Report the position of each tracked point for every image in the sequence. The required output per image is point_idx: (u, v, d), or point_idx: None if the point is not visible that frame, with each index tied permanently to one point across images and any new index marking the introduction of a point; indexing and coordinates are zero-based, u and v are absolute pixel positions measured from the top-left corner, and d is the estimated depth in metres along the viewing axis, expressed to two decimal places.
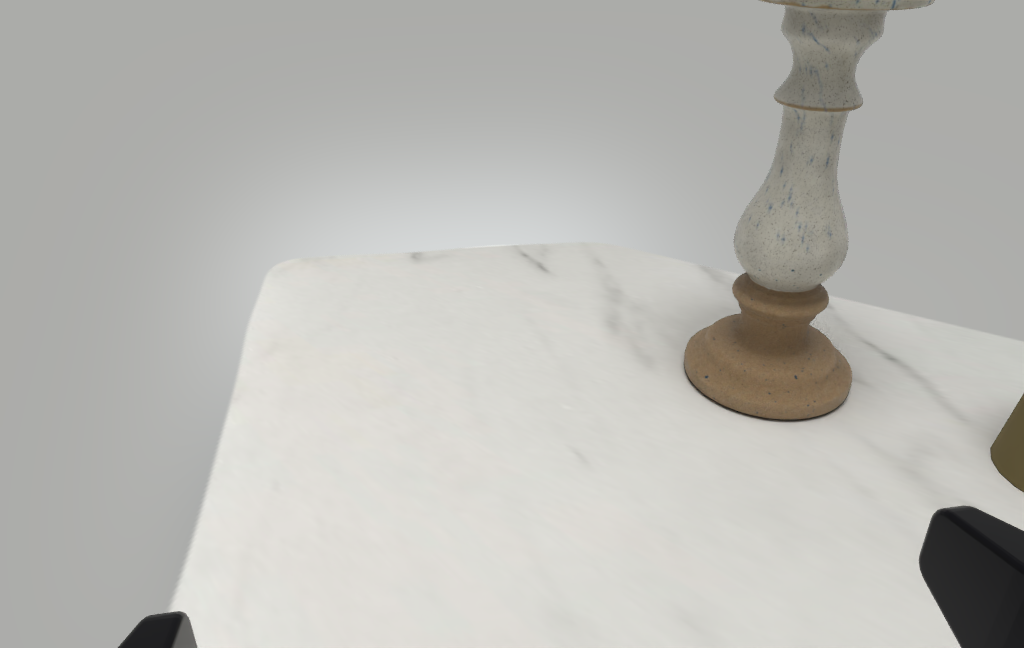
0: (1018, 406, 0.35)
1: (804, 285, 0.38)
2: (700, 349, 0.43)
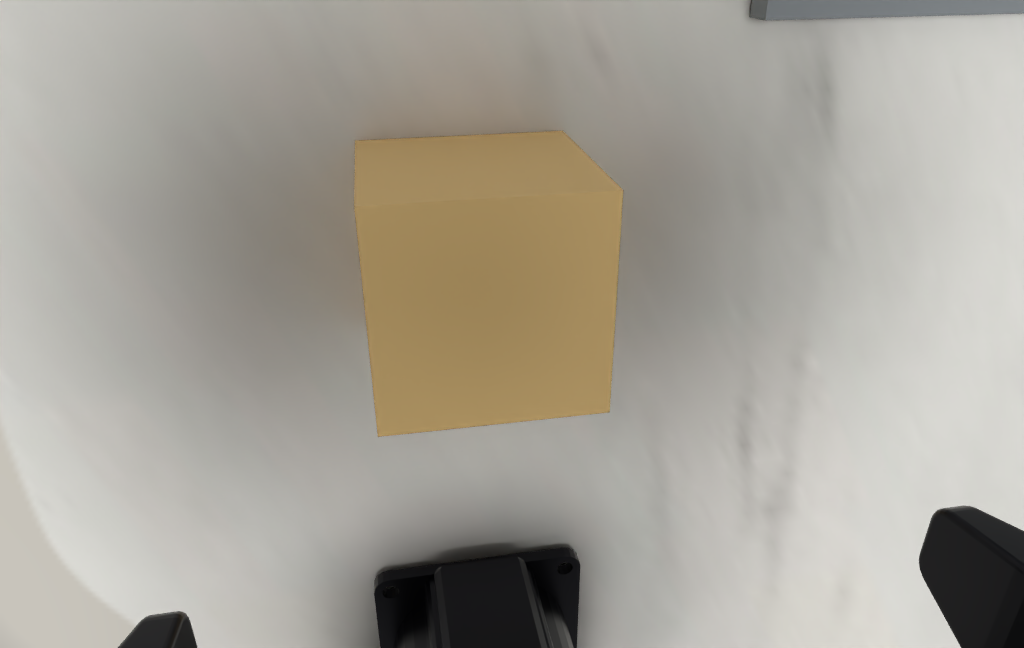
0: None
1: None
2: None
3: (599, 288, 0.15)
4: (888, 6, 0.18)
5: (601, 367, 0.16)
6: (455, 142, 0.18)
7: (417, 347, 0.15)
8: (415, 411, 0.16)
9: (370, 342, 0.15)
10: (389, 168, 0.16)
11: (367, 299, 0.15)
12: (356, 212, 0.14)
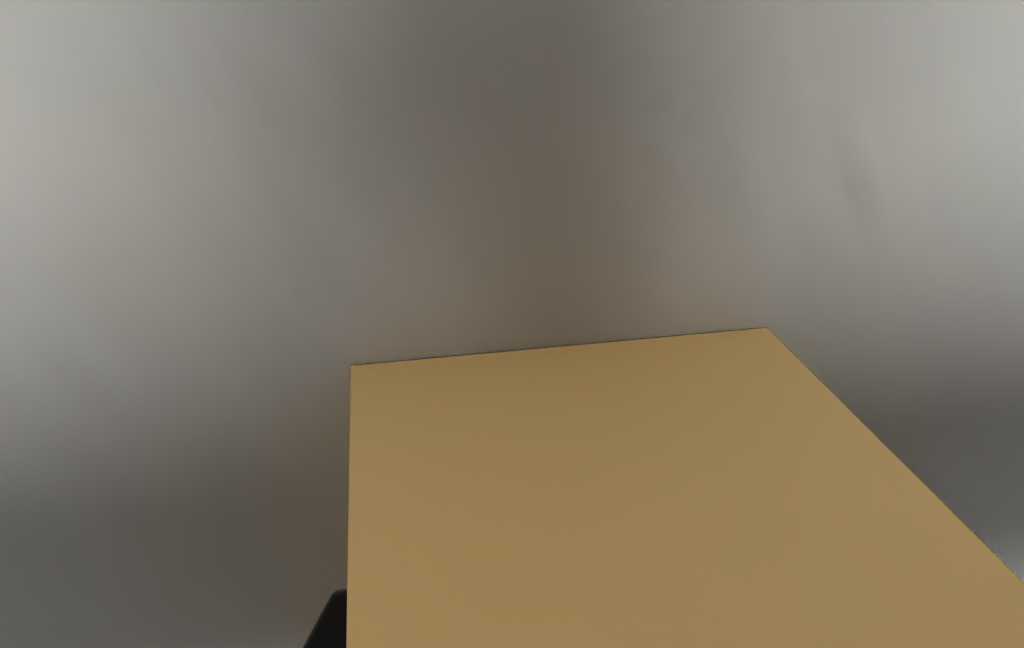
0: None
1: None
2: None
3: None
4: None
5: None
6: (565, 380, 0.08)
7: None
8: None
9: None
10: (434, 517, 0.06)
11: None
12: None
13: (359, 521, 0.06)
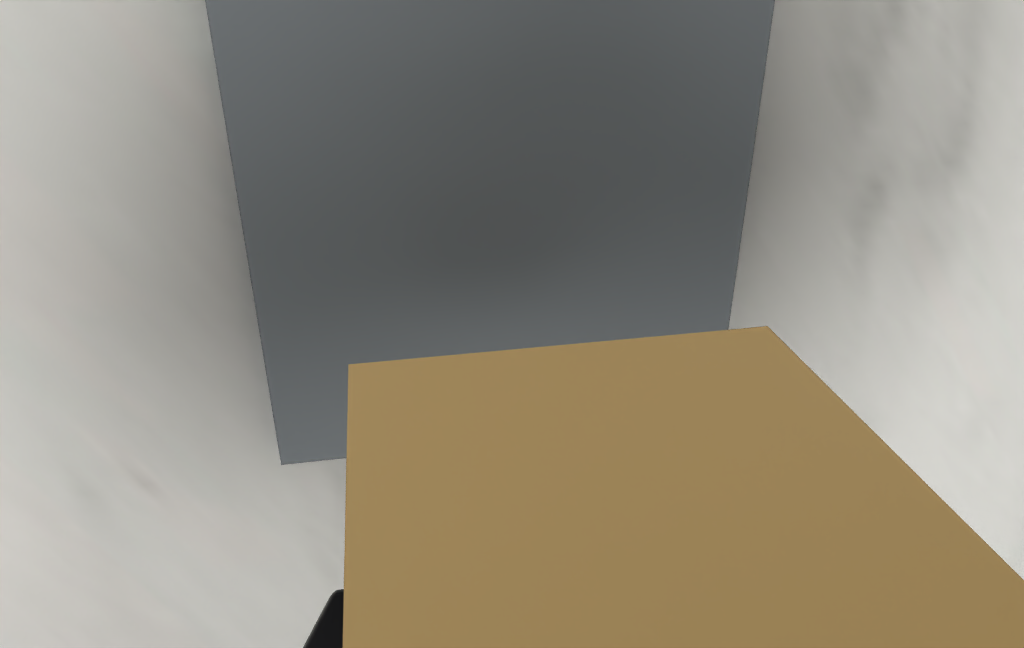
0: None
1: None
2: None
3: None
4: None
5: None
6: (564, 378, 0.08)
7: None
8: None
9: None
10: (432, 516, 0.06)
11: None
12: None
13: (356, 520, 0.06)
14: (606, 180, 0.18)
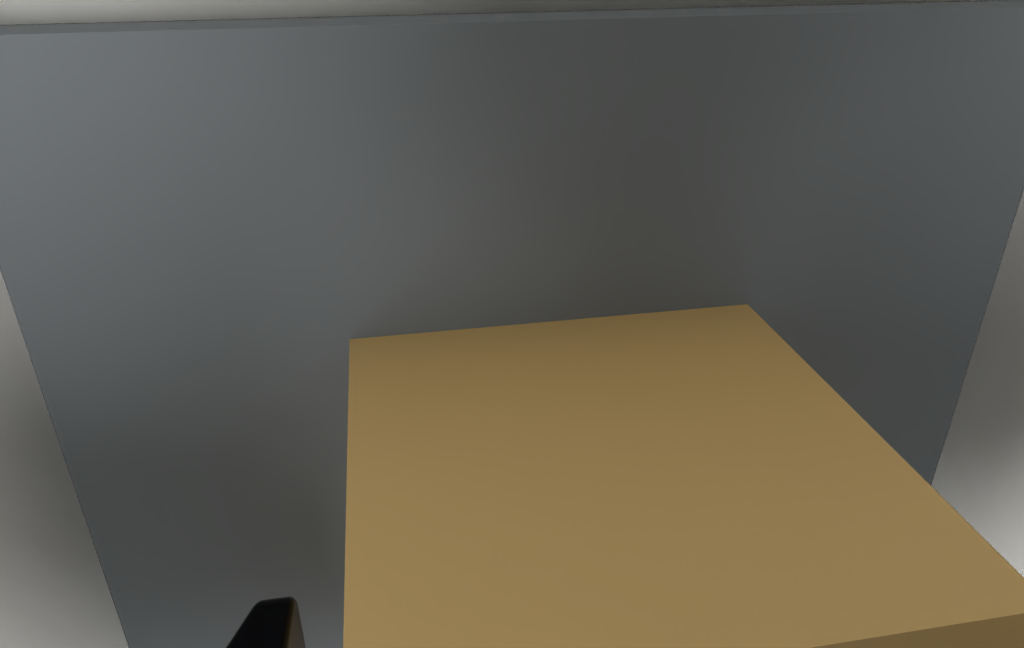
0: None
1: None
2: None
3: None
4: None
5: None
6: (553, 351, 0.09)
7: None
8: None
9: None
10: (425, 472, 0.07)
11: None
12: None
13: (357, 476, 0.07)
14: None
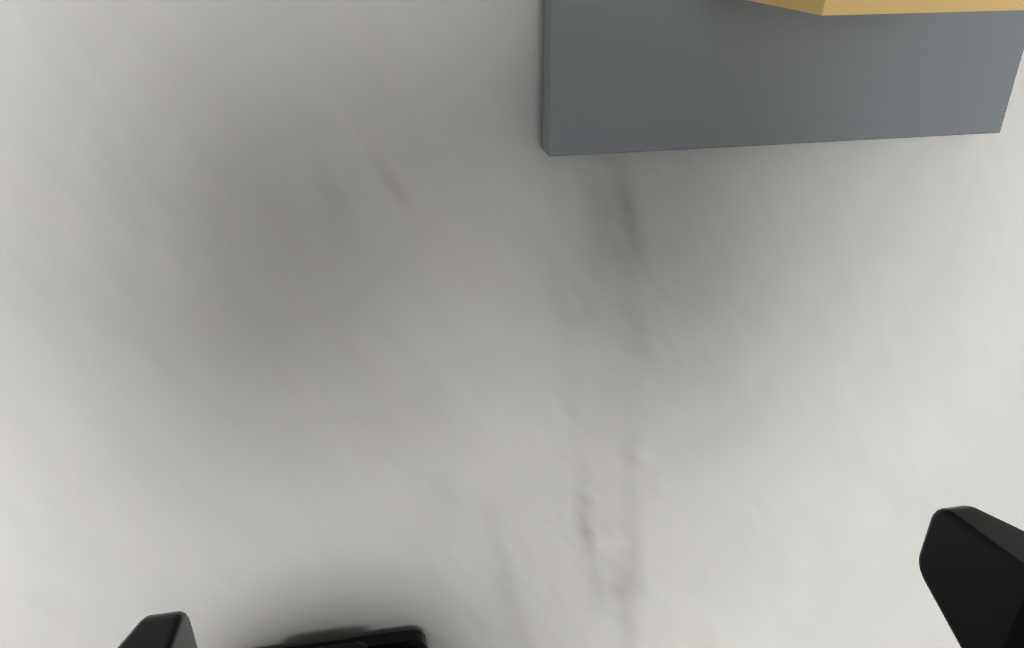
0: None
1: None
2: None
3: None
4: (672, 140, 0.19)
5: None
6: None
7: None
8: None
9: None
10: None
11: None
12: None
13: None
14: None
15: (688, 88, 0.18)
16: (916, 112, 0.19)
